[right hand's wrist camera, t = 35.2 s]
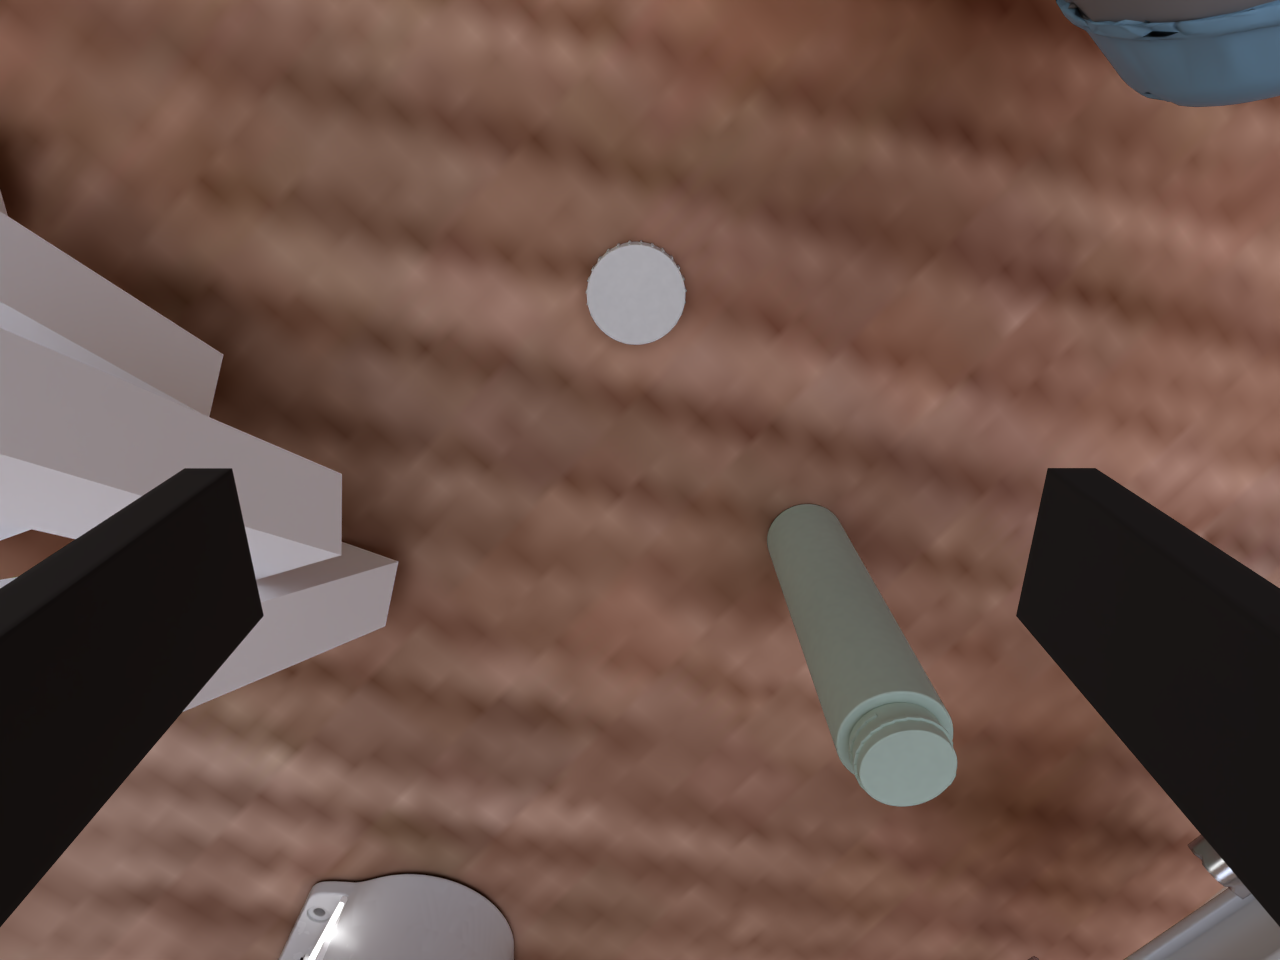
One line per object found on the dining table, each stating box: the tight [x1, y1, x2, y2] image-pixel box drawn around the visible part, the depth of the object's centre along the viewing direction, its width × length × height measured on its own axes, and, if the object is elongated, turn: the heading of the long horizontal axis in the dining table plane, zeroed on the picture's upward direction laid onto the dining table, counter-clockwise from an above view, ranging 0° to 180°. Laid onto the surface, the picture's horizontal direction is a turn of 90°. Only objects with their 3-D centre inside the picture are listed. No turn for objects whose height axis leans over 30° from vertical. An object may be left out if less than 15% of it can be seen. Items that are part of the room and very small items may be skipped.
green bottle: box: [767, 504, 957, 806], centre depth 37 cm, size 5×5×19 cm
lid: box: [586, 240, 686, 345], centre depth 40 cm, size 5×5×2 cm
